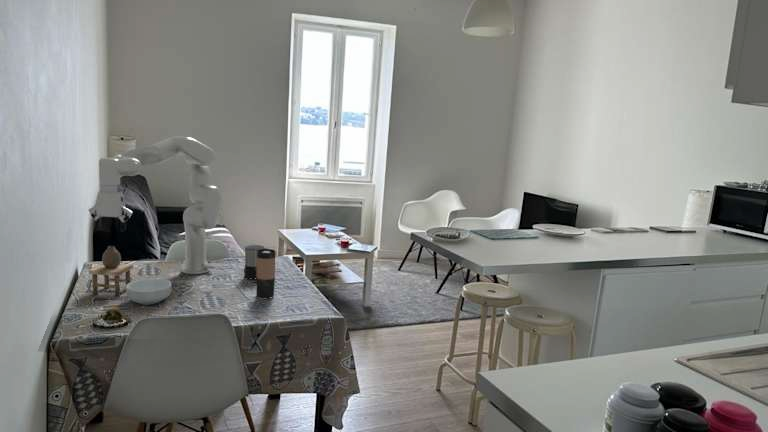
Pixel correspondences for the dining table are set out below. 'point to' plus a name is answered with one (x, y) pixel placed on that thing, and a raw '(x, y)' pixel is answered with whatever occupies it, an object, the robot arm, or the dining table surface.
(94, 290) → the stool
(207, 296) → the dining table surface
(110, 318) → the mossy pebble dish
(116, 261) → the vase
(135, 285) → the cereal bowl
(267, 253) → the travel mug
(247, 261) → the milk frother
